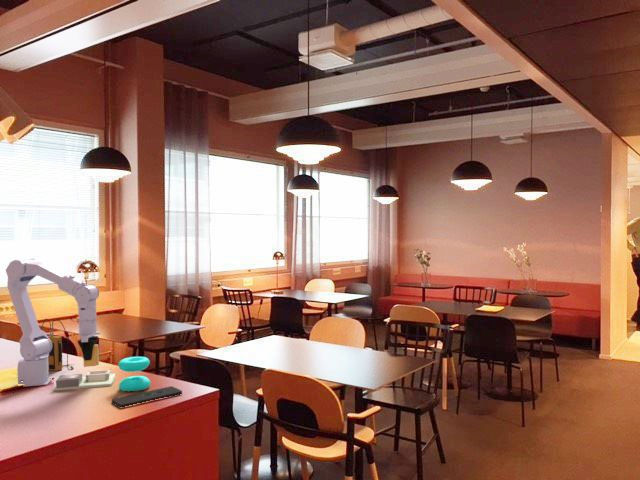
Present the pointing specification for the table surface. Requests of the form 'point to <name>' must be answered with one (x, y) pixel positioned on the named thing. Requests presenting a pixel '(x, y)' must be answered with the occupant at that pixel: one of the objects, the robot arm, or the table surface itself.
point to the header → (98, 375)
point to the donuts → (135, 381)
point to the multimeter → (56, 351)
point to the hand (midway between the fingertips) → (88, 358)
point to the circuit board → (91, 383)
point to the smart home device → (146, 396)
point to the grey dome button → (69, 381)
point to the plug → (93, 357)
